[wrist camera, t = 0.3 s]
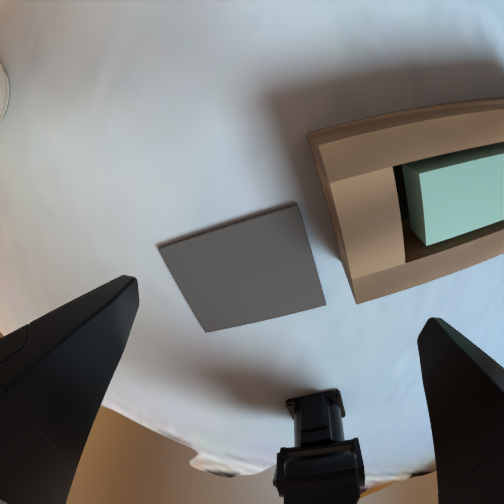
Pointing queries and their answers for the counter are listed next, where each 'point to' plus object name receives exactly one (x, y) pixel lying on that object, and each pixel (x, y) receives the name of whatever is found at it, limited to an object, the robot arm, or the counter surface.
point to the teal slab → (455, 192)
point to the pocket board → (386, 199)
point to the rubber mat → (247, 270)
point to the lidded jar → (4, 91)
